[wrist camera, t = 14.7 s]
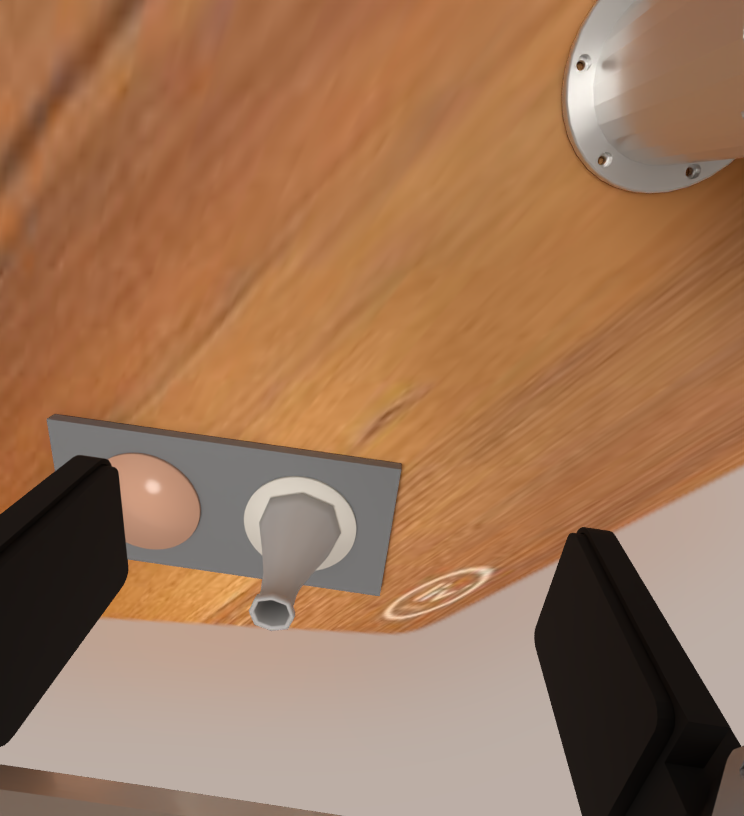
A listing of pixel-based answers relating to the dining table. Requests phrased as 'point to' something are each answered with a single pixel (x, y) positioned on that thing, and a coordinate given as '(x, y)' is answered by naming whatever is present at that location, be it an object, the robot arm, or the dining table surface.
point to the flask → (291, 554)
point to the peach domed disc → (155, 501)
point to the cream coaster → (314, 490)
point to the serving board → (245, 495)
